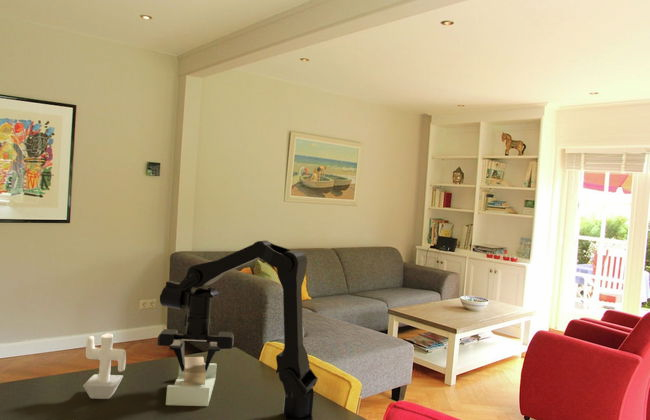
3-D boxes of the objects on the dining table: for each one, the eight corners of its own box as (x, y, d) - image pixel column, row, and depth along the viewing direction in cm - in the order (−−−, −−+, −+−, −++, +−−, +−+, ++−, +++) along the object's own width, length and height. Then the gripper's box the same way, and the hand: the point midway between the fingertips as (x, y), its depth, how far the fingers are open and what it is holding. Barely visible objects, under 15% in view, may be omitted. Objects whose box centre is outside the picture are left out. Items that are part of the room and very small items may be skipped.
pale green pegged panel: (215, 379, 133) (216, 363, 133) (207, 406, 116) (209, 388, 116) (178, 378, 132) (180, 362, 132) (165, 404, 115) (167, 386, 115)
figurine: (118, 401, 114) (122, 340, 114) (76, 400, 113) (81, 338, 113) (127, 389, 122) (131, 331, 121) (88, 388, 120) (93, 329, 120)
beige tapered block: (202, 367, 130) (203, 356, 130) (204, 384, 119) (205, 373, 119) (183, 368, 129) (184, 357, 129) (184, 385, 117) (185, 373, 117)
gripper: (237, 306, 133) (232, 362, 133) (168, 302, 130) (164, 359, 131) (234, 316, 122) (229, 377, 122) (159, 312, 119) (154, 374, 120)
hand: (194, 371), depth 124 cm, fingers open, 5 cm apart
